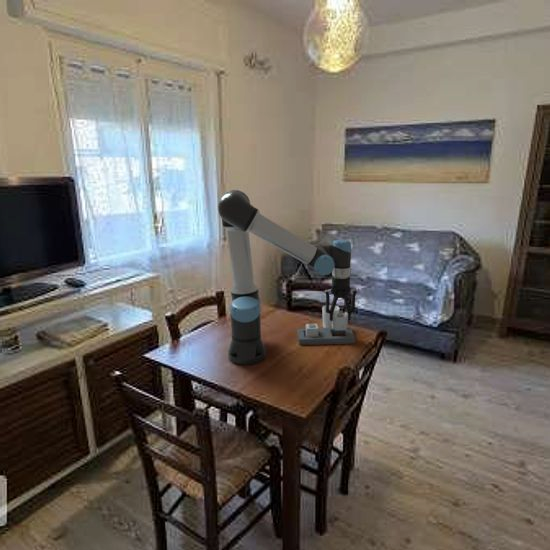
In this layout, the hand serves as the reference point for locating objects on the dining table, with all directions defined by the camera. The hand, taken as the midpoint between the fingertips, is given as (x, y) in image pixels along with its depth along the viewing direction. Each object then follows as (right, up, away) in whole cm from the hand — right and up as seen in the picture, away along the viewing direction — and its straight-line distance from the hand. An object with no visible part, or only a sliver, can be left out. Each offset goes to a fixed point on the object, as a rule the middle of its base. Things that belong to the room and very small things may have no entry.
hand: (339, 327), depth 175 cm
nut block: (0, 0, 0) cm, 0 cm away
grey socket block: (-6, -5, +1) cm, 8 cm away
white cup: (-2, -2, +12) cm, 12 cm away
